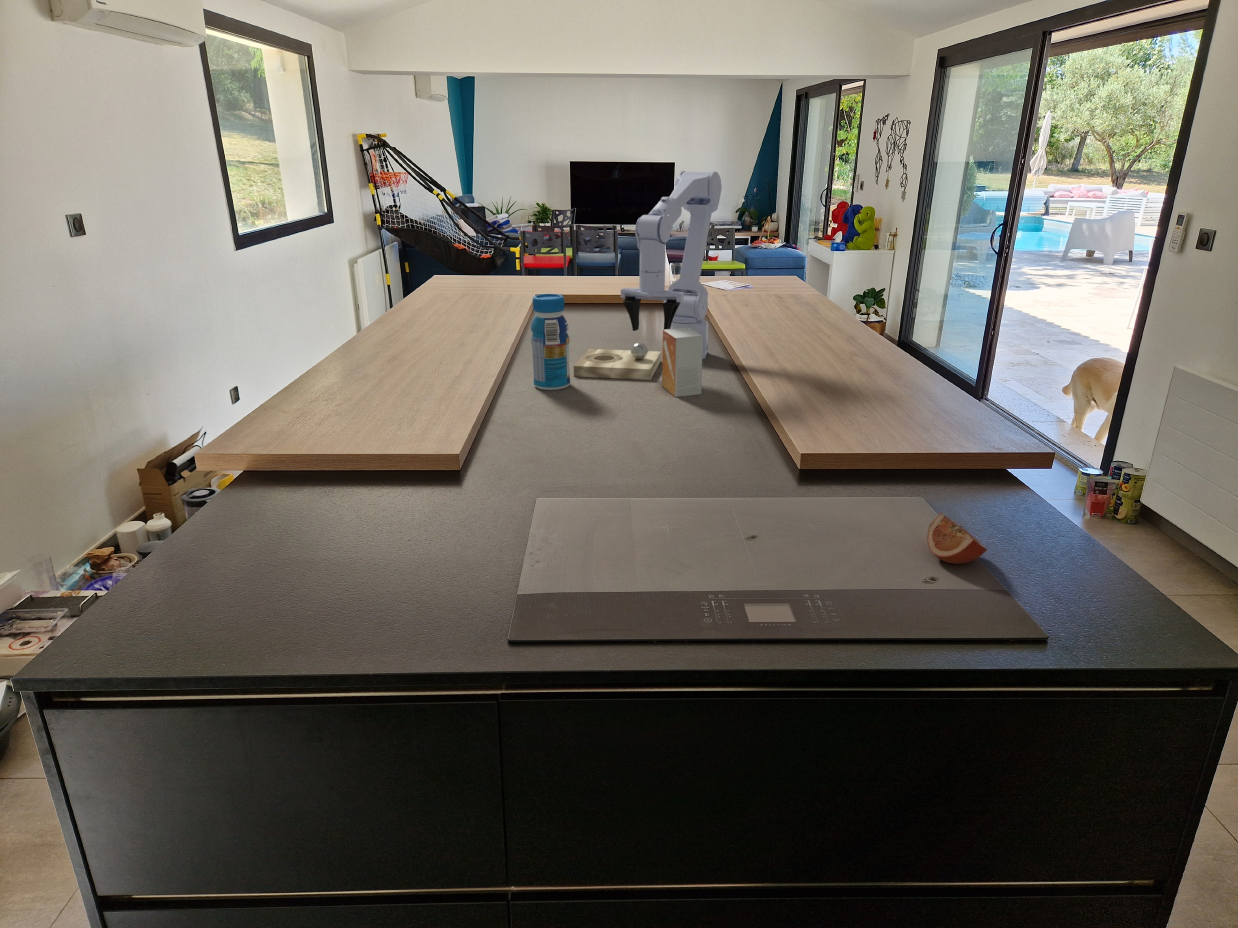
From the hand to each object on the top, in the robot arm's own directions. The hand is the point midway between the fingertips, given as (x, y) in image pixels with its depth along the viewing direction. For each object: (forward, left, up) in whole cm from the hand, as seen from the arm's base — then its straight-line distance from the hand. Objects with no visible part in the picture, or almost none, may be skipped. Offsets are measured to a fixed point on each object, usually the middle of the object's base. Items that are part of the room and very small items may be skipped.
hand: (651, 331), depth 186 cm
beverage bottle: (+20, +13, -10) cm, 26 cm away
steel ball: (+3, -3, -6) cm, 7 cm away
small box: (-9, +12, -10) cm, 18 cm away
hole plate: (+8, -3, -10) cm, 13 cm away
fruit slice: (-54, +80, -10) cm, 97 cm away
